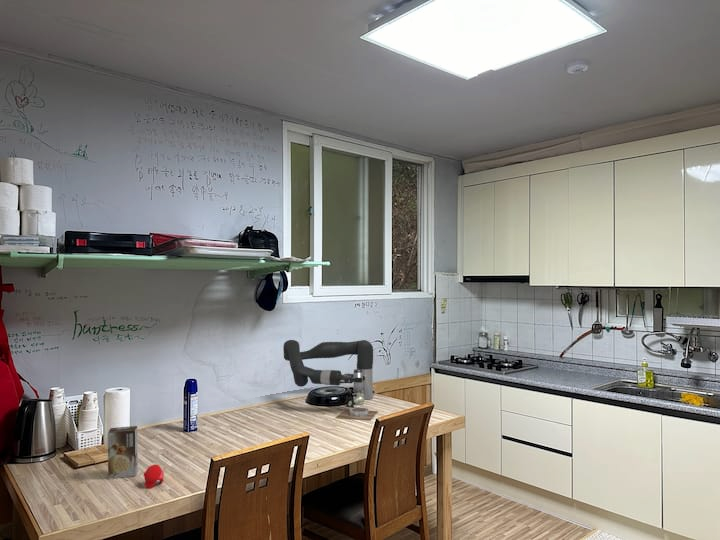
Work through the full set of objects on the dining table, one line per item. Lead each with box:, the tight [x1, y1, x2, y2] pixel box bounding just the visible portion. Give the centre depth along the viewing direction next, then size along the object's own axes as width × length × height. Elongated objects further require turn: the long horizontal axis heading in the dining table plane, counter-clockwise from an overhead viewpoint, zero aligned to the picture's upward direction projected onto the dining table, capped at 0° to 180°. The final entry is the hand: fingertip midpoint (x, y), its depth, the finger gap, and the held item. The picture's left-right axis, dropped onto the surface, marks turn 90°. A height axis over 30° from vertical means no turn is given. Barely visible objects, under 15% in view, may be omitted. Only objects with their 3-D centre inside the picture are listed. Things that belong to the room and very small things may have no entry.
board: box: [335, 409, 379, 422], centre depth 254 cm, size 18×18×1 cm
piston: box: [353, 368, 363, 394], centre depth 254 cm, size 5×5×11 cm
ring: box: [349, 406, 370, 417], centre depth 253 cm, size 9×9×2 cm
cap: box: [143, 464, 165, 490], centre depth 170 cm, size 8×6×6 cm
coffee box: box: [107, 425, 139, 479], centre depth 179 cm, size 9×6×16 cm
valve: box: [344, 393, 365, 408], centre depth 274 cm, size 7×7×12 cm
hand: (363, 379), depth 253 cm, fingers closed on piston, 4 cm apart
